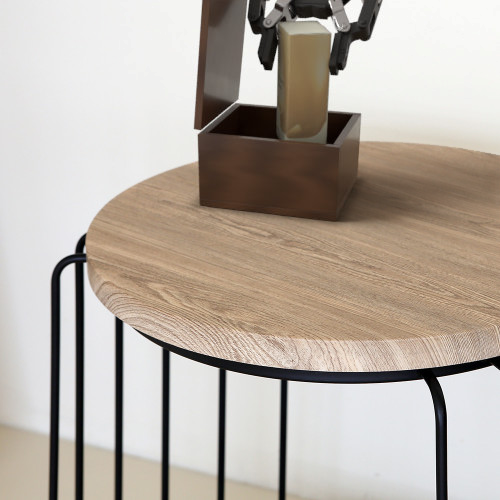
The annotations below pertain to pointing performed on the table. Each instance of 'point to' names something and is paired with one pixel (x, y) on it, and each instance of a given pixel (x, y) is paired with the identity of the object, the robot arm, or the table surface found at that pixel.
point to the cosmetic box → (303, 81)
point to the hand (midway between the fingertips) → (299, 68)
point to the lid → (219, 58)
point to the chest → (277, 164)
